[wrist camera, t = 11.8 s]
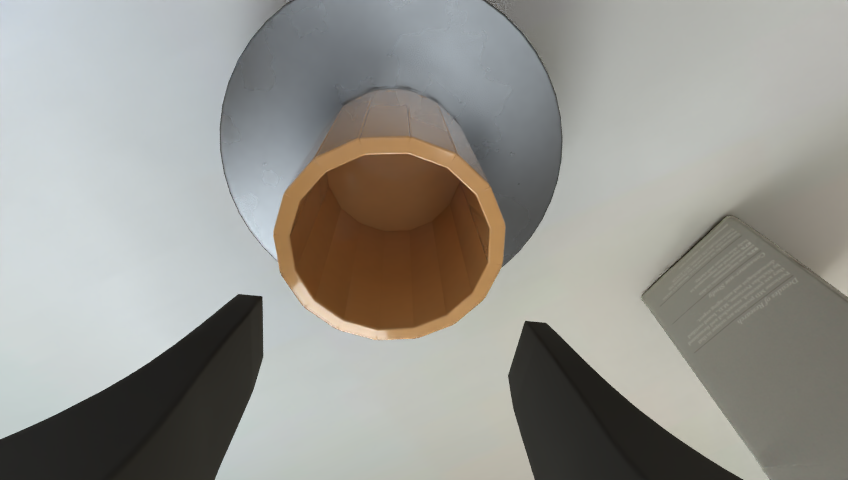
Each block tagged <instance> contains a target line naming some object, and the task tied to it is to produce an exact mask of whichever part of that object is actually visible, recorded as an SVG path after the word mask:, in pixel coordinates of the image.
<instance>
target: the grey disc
mask: <svg viewBox="0 0 848 480" xmlns="http://www.w3.org/2000/svg"><path fill="white" fill-rule="evenodd" d="M384 89H402V90H407V91H412V92H415V93H419V94H422V95H424V96H426V97H428V98H430V99H432V100H433V101H435V102H436V103H438V104H439V105H441V106H442V107H443V108H444V109H445V110H446V111H447V112H448V113H449V114H450V115H451V116H452V117H453V118H454V120H455V121H456V122H457V123H458V124H459V125H460V127H461V129H462V131H463V133H464V135H465V137H466V139H467V140H468V142H469V144H470V146H471V148H472V150H473V152H474V154H475V156H476V158H477V160H478V162H479V164H480V166H481V168H482V170H483V172H484V174H485V176H486V178H487V180H488V182H489V184H490V186H491V188H492V190H493V193H494V196H495V198H496V201H497V203H498V206H499V208H500V211H501V214H502V216H503V219H504V221H505V226H506V229H505V243H504V257H503V264H502V267H503V266H504V265H505V264H506V263H508V262H509V261H510V260H511V259H512V258H513V257H514V256H515V255H516V254H517V253H518V252H519V251H520V250H521V248H522V247H523V246H524V245H525V244H526V242H527V241H528V240H529V239H530V237H531V236H532V235H533V233H534V232H535V230H536V228H537V227H538V225H539V224H540V222H541V220H542V219H543V217H544V215H545V212H546V210H547V208H548V206H549V204H550V202H551V199H552V196H553V193H554V190H555V187H556V184H557V180H558V175H559V170H560V164H561V156H562V127H561V116H560V112H559V107H558V102H557V98H556V94H555V91H554V88H553V86H552V83H551V80H550V78H549V75H548V72H547V71H546V69H545V67H544V65H543V63H542V61H541V59H540V58H539V56H538V54H537V52H536V51H535V49H534V48H533V47H532V45H531V44H530V42H529V41H528V40H527V38H526V37H525V36H524V34H523V33H522V32H521V31H520V30H519V29H518V28H517V27H516V26H515V25H514V24H513V23H512V22H511V21H510V20H509V19H508V18H507V17H506V16H505V15H504V14H503V13H502V12H500V11H499V10H498V9H496V8H495V7H494V6H493V5H491V4H490V3H489V2H487V1H486V0H292V1H290V2H288V3H287V4H286V5H284V6H283V7H282V8H281V9H280V10H279V11H277V12H276V13H275V14H274V15H273V16H272V17H270V18H269V19H268V20H267V21H266V22H265V23H264V25H263V26H262V27H261V28H260V29H259V30H258V32H257V33H256V34H255V35H254V36H253V37H252V39H251V40H250V42H249V43H248V45H247V46H246V48H245V50H244V51H243V53H242V55H241V56H240V58H239V59H238V61H237V64H236V66H235V68H234V71H233V73H232V75H231V78H230V80H229V82H228V86H227V90H226V94H225V97H224V101H223V105H222V113H221V122H220V151H221V157H222V163H223V169H224V174H225V177H226V181H227V184H228V187H229V191H230V194H231V196H232V198H233V200H234V203H235V205H236V207H237V209H238V211H239V213H240V215H241V217H242V218H243V220H244V222H245V223H246V225H247V227H248V228H249V230H250V231H251V233H252V234H253V235H254V236H255V238H256V239H257V240H258V241H259V243H260V244H261V245H262V246H263V248H264V249H265V250H266V251H268V252H269V253H270V254H271V255H272V256H273V257H274V258H275V259H276V260H277V261H278V259H277V253H276V248H275V243H274V238H273V230H274V226H275V223H276V219H277V215H278V212H279V208H280V204H281V201H282V197H283V194H284V192H285V190H286V189H287V187H288V185H289V184H290V182H291V180H292V179H293V177H294V176H295V174H296V172H297V171H298V169H299V168H300V166H301V164H302V163H303V161H304V159H305V158H306V156H307V155H308V153H309V151H310V150H311V148H312V147H313V145H314V143H315V142H316V140H317V139H318V137H319V135H320V134H321V132H322V130H323V129H324V128H325V126H326V125H327V124H328V123H329V122H330V121H331V119H332V118H333V116H334V115H335V114H336V113H337V112H338V111H339V110H340V109H341V108H342V107H343V106H344V105H346V104H347V103H349V102H350V101H352V100H353V99H355V98H357V97H359V96H361V95H364V94H366V93H369V92H373V91H377V90H384ZM502 267H501V268H502Z"/></svg>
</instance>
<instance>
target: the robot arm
mask: <svg viewBox="0 0 848 480" xmlns="http://www.w3.org/2000/svg"><path fill="white" fill-rule="evenodd" d="M262 359H263V307H262V296H252V295H242V294H238V295H237V296H236V297H234V298H233V299H232V300H230V301H229V302H228V303H227V304H225V305H224V306H223V307H222V308H221V309H219V310H218V311H217V312H216V313H215V314H213V315H212V316H211V317H210V318H208V319H207V320H206V321H205V322H203V323H202V324H201V325H200V326H198V327H197V328H196V329H194V330H193V331H192V332H191V333H189V334H188V335H187V336H185V337H184V338H183V339H182V340H180V341H179V342H178V343H176V344H175V345H173V346H172V347H171V348H169V349H168V350H166V351H165V352H164V353H162V354H161V355H159V356H158V357H156V358H155V359H154V360H152V361H151V362H149V363H148V364H146V365H145V366H143V367H142V368H140V369H138V370H137V371H135V372H134V373H132V374H130V375H129V376H127V377H125V378H124V379H122V380H120V381H119V382H117V383H115V384H113V385H112V386H110V387H108V388H107V389H105V390H103V391H101V392H99V393H97V394H95V395H93V396H92V397H90V398H88V399H86V400H84V401H82V402H80V403H78V404H76V405H74V406H72V407H70V408H68V409H66V410H64V411H62V412H60V413H58V414H56V415H54V416H52V417H50V418H48V419H46V420H44V421H41V422H39V423H37V424H35V425H33V426H30V427H28V428H26V429H24V430H21V431H19V432H17V433H14V434H12V435H10V436H7V437H5V438H3V439H0V480H215V477H216V475H217V472H218V470H219V467H220V465H221V463H222V461H223V458H224V456H225V454H226V451H227V449H228V447H229V445H230V442H231V440H232V438H233V436H234V433H235V431H236V429H237V427H238V424H239V422H240V420H241V417H242V415H243V413H244V411H245V408H246V406H247V404H248V401H249V399H250V397H251V394H252V392H253V389H254V386H255V383H256V379H257V376H258V373H259V369H260V366H261V362H262ZM508 378H509V384H510V391H511V397H512V403H513V408H514V412H515V416H516V419H517V423H518V426H519V429H520V433H521V436H522V439H523V443H524V446H525V449H526V452H527V456H528V459H529V462H530V465H531V469H532V472H533V475H534V478H535V480H743V479H741V478H739V477H738V476H736V475H734V474H732V473H731V472H729V471H727V470H725V469H724V468H722V467H721V466H719V465H717V464H716V463H714V462H712V461H711V460H709V459H708V458H706V457H704V456H703V455H701V454H700V453H698V452H697V451H695V450H694V449H692V448H691V447H689V446H688V445H686V444H685V443H683V442H682V441H680V440H679V439H678V438H676V437H675V436H673V435H672V434H670V433H669V432H668V431H666V430H665V429H664V428H662V427H661V426H660V425H658V424H657V423H656V422H654V421H653V420H652V419H650V418H649V417H648V416H646V415H645V414H644V413H643V412H641V411H640V410H639V409H638V408H636V407H635V406H634V405H633V404H631V403H630V402H629V401H628V400H627V399H626V398H625V397H623V396H622V395H621V394H620V393H619V392H618V391H616V390H615V389H614V388H613V387H612V386H611V385H610V384H609V383H608V382H606V381H605V380H604V379H603V378H602V377H601V376H600V375H599V374H598V373H597V372H596V371H595V370H594V369H593V368H592V367H591V366H589V365H588V364H587V363H586V362H585V361H584V360H583V359H582V358H581V357H580V356H579V355H578V354H577V353H576V352H575V351H574V350H573V349H572V348H571V347H570V346H569V345H568V344H567V343H566V342H565V341H564V340H563V339H562V338H561V337H560V336H559V335H558V334H557V333H556V332H555V331H554V330H553V329H552V328H551V327H550V326H549V325H548V324H547V323H541V322H530V321H525V323H524V326H523V329H522V333H521V336H520V339H519V342H518V346H517V349H516V352H515V355H514V359H513V362H512V365H511V368H510V372H509V375H508Z"/></svg>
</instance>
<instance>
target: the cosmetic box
mask: <svg viewBox="0 0 848 480" xmlns="http://www.w3.org/2000/svg"><path fill="white" fill-rule="evenodd" d="M641 299H642V301H643V302H644V303H645V304H646V306H647V307H648V308H649V310H650V311H651V312H652V314H653V315H654V316H655V318H656V319H657V321H658V322H659V324H660V325H661V326H662V328H663V329H664V331H665V332H666V333H667V335H668V336H669V338H670V339H671V340H672V342H673V343H674V345H675V346H676V347H677V349H678V350H679V352H680V353H681V355H682V356H683V358H684V359H685V360H686V362H687V363H688V365H689V366H690V367H691V369H692V370H693V372H694V373H695V374H696V376H697V377H698V379H699V380H700V381H701V383H702V384H703V386H704V387H705V389H706V390H707V391H708V393H709V394H710V396H711V397H712V398H713V400H714V401H715V403H716V404H717V406H718V407H719V408H720V410H721V411H722V413H723V414H724V415H725V417H726V418H727V420H728V421H729V422H730V424H731V425H732V426H733V428H734V429H735V431H736V432H737V433H738V435H739V436H740V438H741V439H742V440H743V442H744V443H745V445H746V446H747V447H748V449H749V450H750V452H751V453H752V454H753V456H754V457H755V459H756V461H757V462H758V464H759V465H760V467H761V468H762V470H763V471H764V473H765V474H766V475H767V477H768V478H769V480H848V297H847V296H845V295H844V294H843V293H841V292H840V291H839V290H837V289H836V288H834V287H833V286H832V285H830V284H829V283H828V282H826V281H825V280H824V279H822V278H821V277H820V276H818V275H817V274H816V273H814V272H813V271H811V270H810V269H809V268H807V267H806V266H805V265H803V264H802V263H800V262H799V261H798V260H796V259H795V258H794V257H792V256H791V255H789V254H788V253H787V252H785V251H784V250H782V249H781V248H780V247H778V246H777V245H776V244H774V243H773V242H771V241H770V240H769V239H767V238H766V237H764V236H763V235H761V234H760V233H759V232H757V231H756V230H754V229H753V228H751V227H750V226H748V225H747V224H745V223H744V222H742V221H741V220H739V219H738V218H736V217H735V216H727V217H725V218H724V219H723V220H722V221H721V222H720V223H719V224H718V225H717V226H716V227H715V228H714V229H712V230H711V231H710V232H709V233H708V234H707V235H706V236H705V237H704V238H703V239H702V240H701V241H700V242H699V243H698V244H697V245H696V246H695V247H694V248H693V249H692V250H690V251H689V252H688V253H687V254H686V255H685V256H684V257H683V258H682V259H681V260H680V261H678V262H677V263H676V264H675V265H674V266H673V267H672V268H671V269H670V270H669V271H668V272H666V273H665V274H664V275H663V276H662V277H661V278H660V279H659V280H658V281H657V282H656V283H655V284H654V285H653V286H652V287H651V288H650V289H649V290H647V291H646V292H645V293H644V294H643V295H642V297H641Z"/></svg>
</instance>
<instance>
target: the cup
mask: <svg viewBox="0 0 848 480" xmlns="http://www.w3.org/2000/svg"><path fill="white" fill-rule="evenodd" d="M505 229H506V226H505V221H504V219H503V216H502V214H501V211H500V208H499V206H498V203H497V201H496V198H495V196H494V193H493V190H492V188H491V186H490V184H489V182H488V180H487V178H486V176H485V174H484V172H483V170H482V168H481V166H480V164H479V162H478V160H477V158H476V156H475V154H474V152H473V150H472V148H471V146H470V144H469V142H468V140H467V139H466V137H465V135H464V133H463V131H462V129H461V127H460V125H459V124H458V123H457V122H456V121H455V120H454V118H453V117H452V116H451V115H450V114H449V113H448V112H447V111H446V110H445V109H444V108H443V107H442V106H441V105H439V104H438V103H436V102H435V101H433V100H432V99H430V98H428V97H426V96H424V95H422V94H419V93H415V92H412V91H407V90H402V89H384V90H377V91H373V92H369V93H366V94H364V95H361V96H359V97H357V98H355V99H353V100H352V101H350V102H349V103H347V104H346V105H344V106H343V107H342V108H341V109H340V110H339V111H338V112H337V113H336V114H335V115H334V116H333V118H332V119H331V121H330V122H329V123H328V124H327V125H326V126H325V128H324V129H323V130H322V132H321V134H320V135H319V137H318V139H317V140H316V142H315V143H314V145H313V147H312V148H311V150H310V151H309V153H308V155H307V156H306V158H305V159H304V161H303V163H302V164H301V166H300V168H299V169H298V171H297V172H296V174H295V176H294V177H293V179H292V180H291V182H290V184H289V185H288V187H287V189H286V190H285V192H284V194H283V197H282V201H281V204H280V208H279V212H278V215H277V219H276V223H275V226H274V230H273V238H274V243H275V248H276V253H277V259H278V264H279V269H280V273H281V275H282V277H283V278H284V280H285V281H286V283H287V284H288V285H289V287H290V288H291V290H292V291H293V293H294V294H295V295H296V297H297V298H298V300H299V301H300V303H301V304H302V306H304V307H305V308H306V309H307V310H309V311H310V312H312V313H313V314H315V315H316V316H318V317H319V318H321V319H322V320H324V321H325V322H326V323H328V324H329V325H331V326H332V327H334V328H335V329H338V330H340V331H344V332H348V333H351V334H355V335H359V336H362V337H366V338H370V339H373V340H376V339H377V340H393V339H415V338H416V337H417V338H419V337H422V336H425V335H427V334H430V333H433V332H435V331H438V330H441V329H443V328H446V327H449V326H451V325H453V324H455V323H456V322H458V321H459V320H460V319H461V318H462V317H464V316H465V315H466V314H467V313H468V312H470V311H471V310H472V309H473V308H474V307H476V306H477V305H478V304H479V303H480V302H482V301H483V299H484V298H485V297H486V295H487V293H488V291H489V289H490V288H491V286H492V284H493V282H494V280H495V278H496V276H497V275H498V273H499V271H500V269H501V267H502V264H503V257H504V243H505Z"/></svg>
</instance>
